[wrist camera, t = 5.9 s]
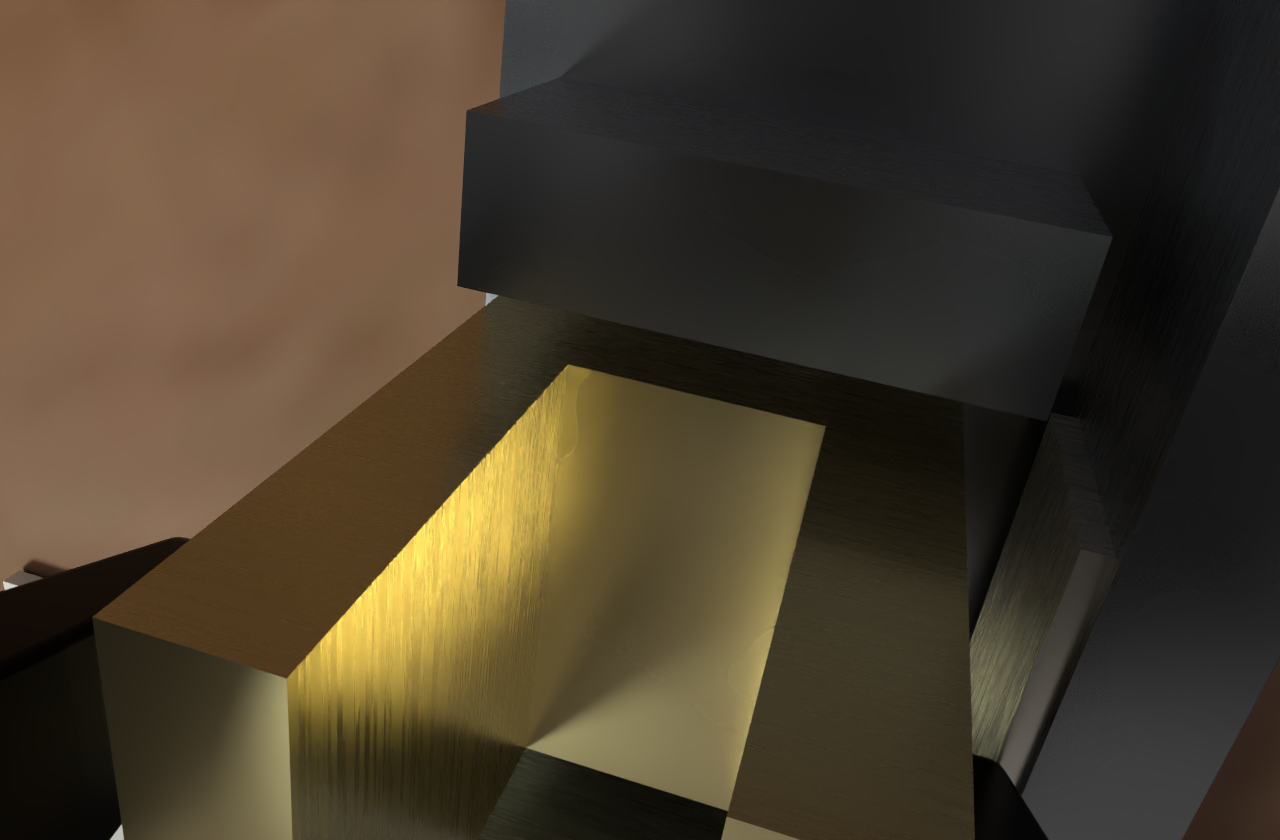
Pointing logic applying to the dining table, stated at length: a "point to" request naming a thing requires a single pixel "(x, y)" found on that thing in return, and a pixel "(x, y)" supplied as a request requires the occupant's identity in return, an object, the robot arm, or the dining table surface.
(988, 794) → the robot arm
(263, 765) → the bracket
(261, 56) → the dining table surface
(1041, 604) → the rack flange
